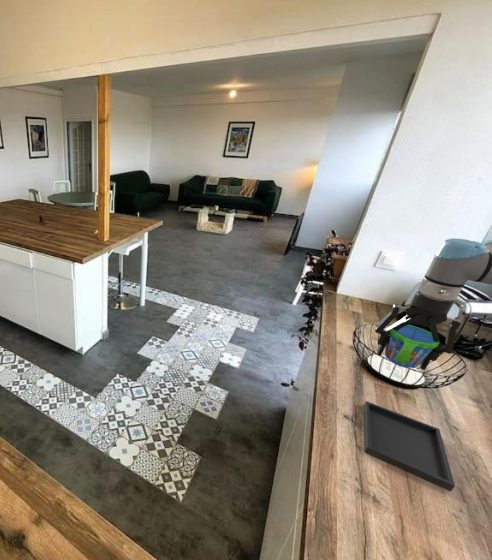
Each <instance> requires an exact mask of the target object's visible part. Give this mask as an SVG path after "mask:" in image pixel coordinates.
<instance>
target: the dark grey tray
mask: <svg viewBox="0 0 492 560" xmlns="http://www.w3.org/2000/svg"><path fill="white" fill-rule="evenodd" d="M362 408H363V409H362V410H363V411H362V412H363V445H364V446H363V450H364V451H363V452H364V453H365V454H367V455H370V456H372V457H374V458H376V459H378V460H380V461H383V462H385V463H387V464H390V465H391V466H393V467H396V468H398V469H401V470H402V471H405V472H407V473H409V474H411V475H414V476H416V477H418V478H419V479H422V480H425V481H427V482H429V483H431V484H434V485H436V486H438V487H440V488H442V489H445V490H447V491H449V492H452V490H454V488H455V487H456V485H455V480H454V477H453V474H452V473H453V472H452V470H451V466H450V463H449V459H448V455H447V451H446V449H445V445H444V441H443V437H442V433H441V430H440V428H438V427H435V426H433V425H431V424H427V423H425V422H422V421H420V420H417V419H415V418H412V417H409V416H407V415H404V414H401V413H399V412H396V411H393V410H391V409H388V408H386V407H383V406H380V405H377V404H375V403H373V402H370V401H367V400H365V401H364V404H363V407H362Z"/></svg>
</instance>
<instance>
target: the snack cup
mask: <svg viewBox="0 0 492 560" xmlns="http://www.w3.org/2000/svg"><path fill="white" fill-rule="evenodd" d="M390 333H391V335H389V341H388V343H387V345H386V347H385V349H384V351H385V352H384V355H385V358H386V359H387V360H388V361H390V362H391V363H393V364H395V365H397V366H399V367H403V368H409V369H415V368H417V367H418V366H420V363H421V362H422V361H423V360H424V359H425V357H426V356H427V355H428V354H429V353H430V352H431V351H432V350H433V349H434V348H436V347H437V346H438V345H439V343H440V344H441V341H440V342H436V341H433V338H432V334H431V331H428V330H426V329H424V328H421V327H419V326H416V325H411V324H410V325H406V326H405V327H403V328H401V329H399V330H398V331H395V330H394V329H392V330H391V331H390Z"/></svg>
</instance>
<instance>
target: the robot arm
mask: <svg viewBox="0 0 492 560" xmlns="http://www.w3.org/2000/svg"><path fill="white" fill-rule="evenodd" d="M468 281H470V282H475V283H481V284H485V285H490V286H492V239H487V240H485V241H482V242H479V241H475V240H470V239H465V238H447V239H445V240H443V242H442V243H441V245H440V246H439V247H438V248H437V251H436V253H434V256H433V258H432V261H431V262H430V264H429V267H428V269H427V270H426V272H425V275H424V276H423V278H422V280H421V282H420V283H419V286H418V287H417V291H415V293H414V296H413V297H412V299H411V301H410V303H409V304H408V305H405V306H403V305H399V304H398V303H394V304H393V305H392V307H391V310H390V311H389V312H388V313H387V314H386V315H385V316H384V317H383V318H382V319H381V320H380V321H379V322H378V323H377V324H376V326H375V327H374V332H375V333H376V334H379V337H378V338H377V345H379V346H378V349H377V350H376V351H377V352H376V354H377V356H379V357H381V356H382V354H383V353H384V351H385V350H386V347H387V343H388V341H389V335H391V333H390V331H391V330H392V329H394V330H395V331H398V330H399V329H401V328H403V327H405V326H406V325H411V324H413V325H418V326H422V327H424V328H429V329H430V333H431V334H432V338H433V341H436V342H440V343H439V345H438V346H437V347H436V348H434V349H433V350H432V351H431V352H430V353H429V354H428V355H427V356H426V357H425V359H424V360H423V361H422V362H421V363H420V364H419V366H420V369H421V370H423V371H425V370H426V369H427V367H428V365H429V364H430V362H431V361H432V362H436V361H437V359H438V358H439V356H440V355H443V353H446V354H450V355H451V354H453V352H454V347H455V340H456V335H457V330H458V329H459V328H460V326H461V325H462V323H461V322H460V320H459V318H457V317H454V318H452V317H449V316H448V314H449V312H450V310H451V309H452V307H453V306H454V304H455V300H457V298H458V296H459V295H460V293H461V291H462V289H463V287H465V285H466V283H467V282H468ZM403 312H405V313H406V315H404V316H403V317H402V318H400V319H399V320H397V321H395V322H394V323H392V324H391V325H389V324H390V323H391V322H392V321H393V320H394V319H395V318H396V317H397V316H398V314H402V313H403ZM444 322H445V323H446V325H447V330H446V335H445V342H444V345H442V343H441V340H440V336H439V333H438V328H437V325H440V324H442V323H444Z"/></svg>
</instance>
